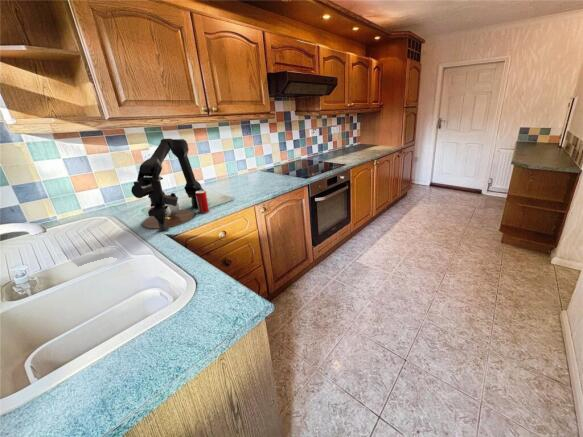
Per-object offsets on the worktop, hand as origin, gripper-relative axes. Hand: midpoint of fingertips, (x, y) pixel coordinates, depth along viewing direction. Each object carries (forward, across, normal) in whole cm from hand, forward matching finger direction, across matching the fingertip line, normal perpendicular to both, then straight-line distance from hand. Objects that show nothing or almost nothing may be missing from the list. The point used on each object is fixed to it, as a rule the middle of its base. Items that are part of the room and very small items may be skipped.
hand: (163, 223), depth 122 cm
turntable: (+3, +13, 0) cm, 13 cm away
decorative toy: (+3, +15, 0) cm, 15 cm away
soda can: (+3, +18, -18) cm, 26 cm away
